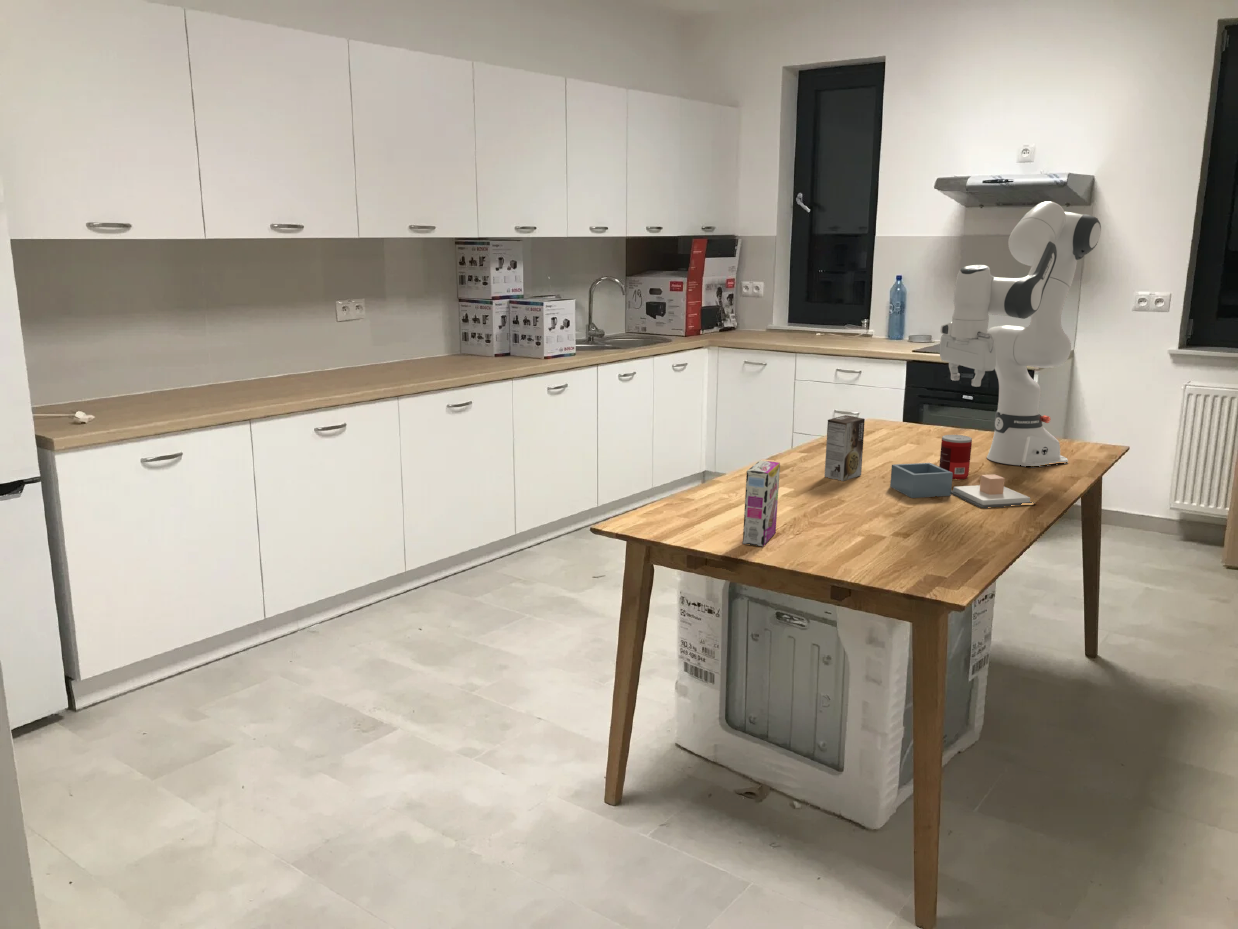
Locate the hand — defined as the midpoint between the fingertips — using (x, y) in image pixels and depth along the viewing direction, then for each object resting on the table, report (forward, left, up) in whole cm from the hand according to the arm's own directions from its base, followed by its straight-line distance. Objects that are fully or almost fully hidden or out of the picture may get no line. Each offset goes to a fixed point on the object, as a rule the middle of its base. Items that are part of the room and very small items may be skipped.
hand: (965, 383), depth 251 cm
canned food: (-3, -6, -27) cm, 28 cm away
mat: (0, +16, -27) cm, 31 cm away
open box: (+14, +6, -27) cm, 31 cm away
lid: (0, +16, -26) cm, 31 cm away
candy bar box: (+69, +35, -27) cm, 82 cm away
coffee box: (+27, -12, -27) cm, 40 cm away
